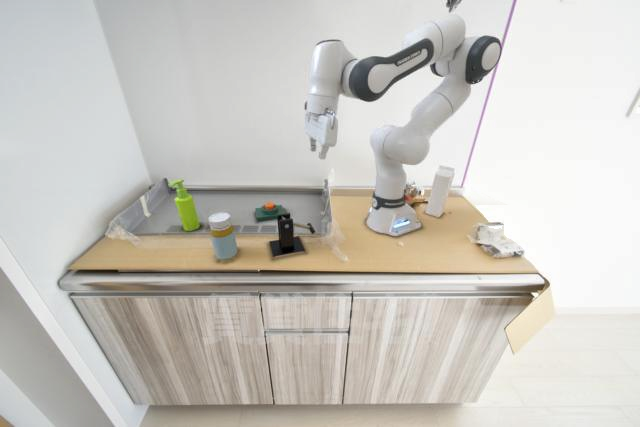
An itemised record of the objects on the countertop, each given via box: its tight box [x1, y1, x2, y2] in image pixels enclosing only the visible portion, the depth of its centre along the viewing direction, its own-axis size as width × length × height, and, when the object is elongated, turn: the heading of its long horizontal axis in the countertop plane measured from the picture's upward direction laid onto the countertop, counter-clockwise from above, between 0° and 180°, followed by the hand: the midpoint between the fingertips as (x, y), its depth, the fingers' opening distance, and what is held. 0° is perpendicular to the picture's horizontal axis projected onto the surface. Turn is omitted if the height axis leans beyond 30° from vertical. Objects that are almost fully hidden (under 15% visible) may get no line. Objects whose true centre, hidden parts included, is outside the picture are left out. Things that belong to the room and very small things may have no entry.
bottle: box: [208, 212, 239, 261], centre depth 78 cm, size 7×7×15 cm
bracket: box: [268, 212, 306, 257], centre depth 83 cm, size 11×9×13 cm
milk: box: [425, 165, 455, 218], centre depth 105 cm, size 6×6×22 cm
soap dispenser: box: [167, 179, 201, 232], centre depth 92 cm, size 6×7×20 cm
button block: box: [254, 203, 286, 223], centre depth 106 cm, size 12×9×4 cm
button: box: [264, 202, 275, 210], centre depth 104 cm, size 4×4×2 cm
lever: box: [281, 217, 316, 235], centre depth 82 cm, size 12×5×2 cm, turn 108°
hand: (317, 154), depth 76 cm, fingers open, 8 cm apart
